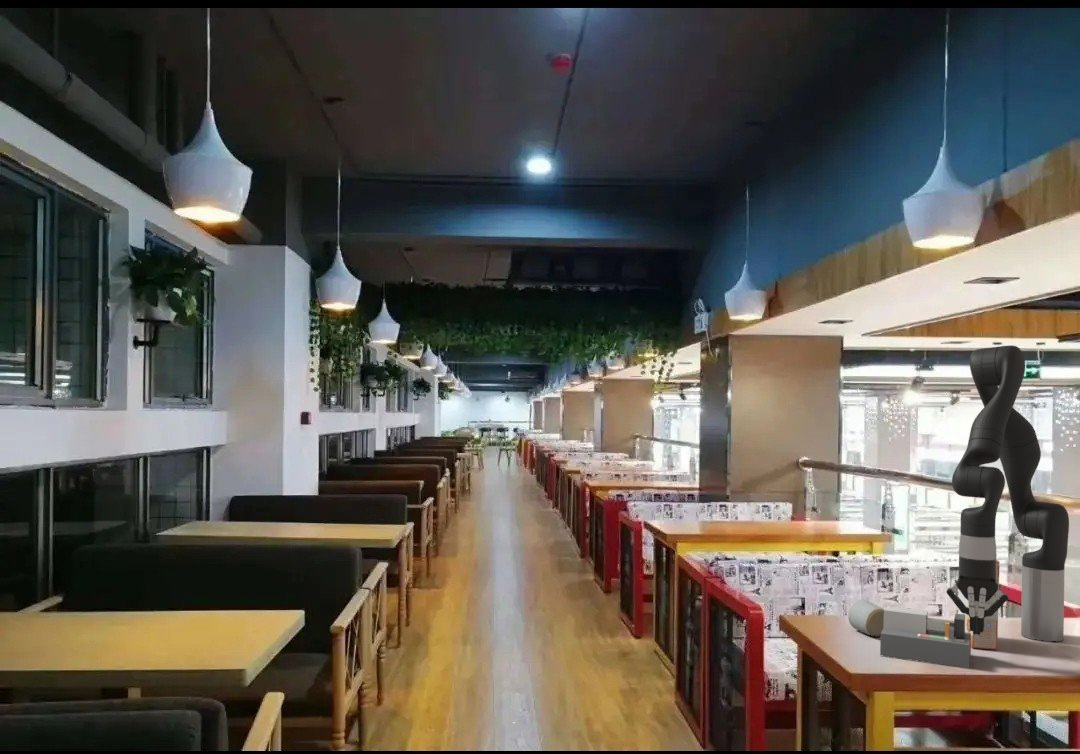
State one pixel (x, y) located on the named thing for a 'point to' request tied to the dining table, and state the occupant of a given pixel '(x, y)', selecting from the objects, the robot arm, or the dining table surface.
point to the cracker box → (990, 632)
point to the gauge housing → (921, 639)
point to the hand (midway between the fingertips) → (976, 633)
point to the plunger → (954, 628)
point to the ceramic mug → (866, 617)
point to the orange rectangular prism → (947, 629)
